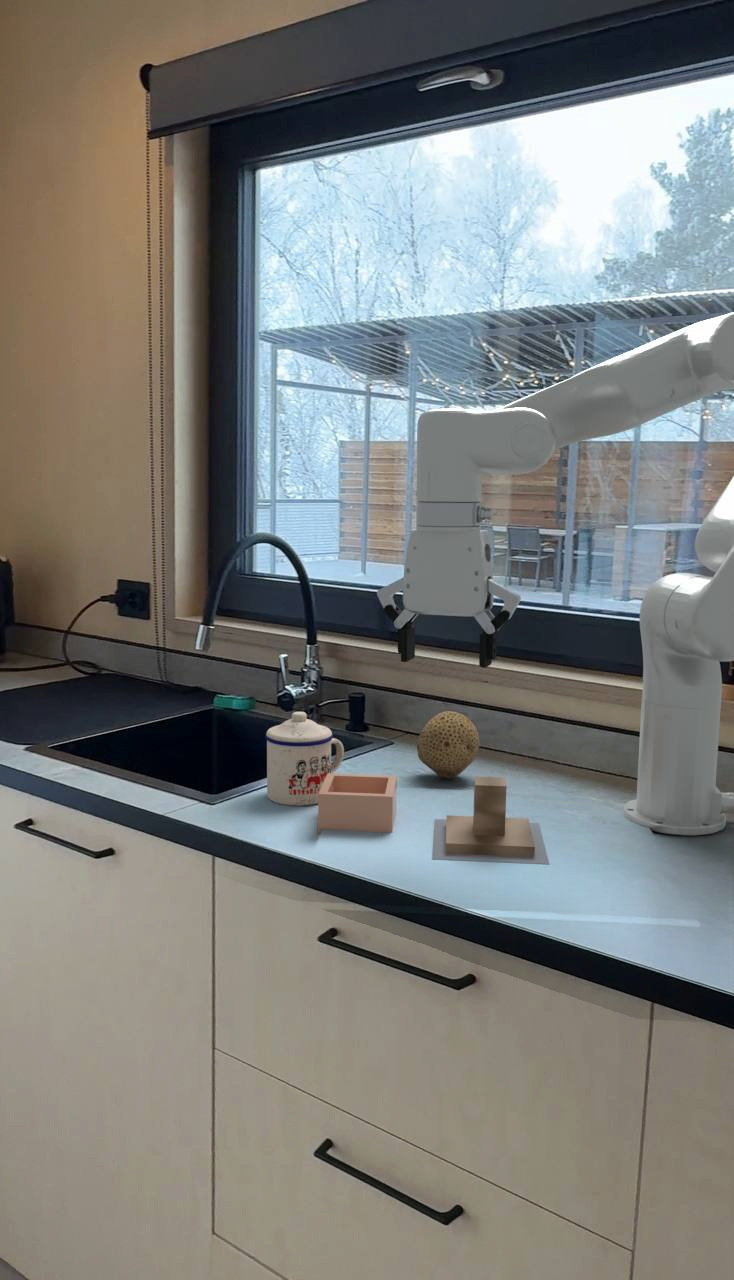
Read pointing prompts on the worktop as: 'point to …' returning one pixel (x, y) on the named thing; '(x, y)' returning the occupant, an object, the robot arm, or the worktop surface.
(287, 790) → the teacup with lid
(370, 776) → the dish
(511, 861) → the mat
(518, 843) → the lid
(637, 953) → the worktop surface
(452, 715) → the natural sponge
